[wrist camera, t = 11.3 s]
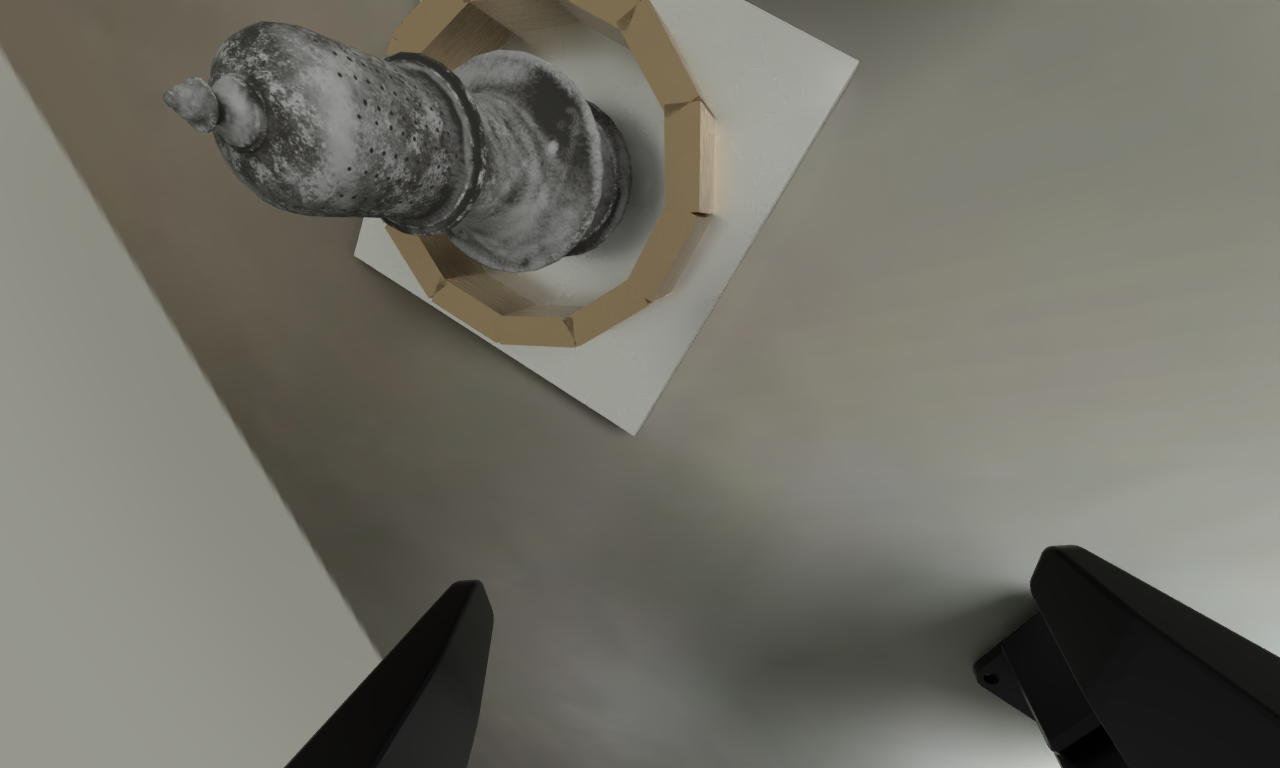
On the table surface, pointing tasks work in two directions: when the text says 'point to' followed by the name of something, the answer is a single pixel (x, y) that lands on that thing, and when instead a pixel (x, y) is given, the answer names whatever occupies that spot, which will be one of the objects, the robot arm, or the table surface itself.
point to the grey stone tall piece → (416, 142)
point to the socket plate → (661, 180)
